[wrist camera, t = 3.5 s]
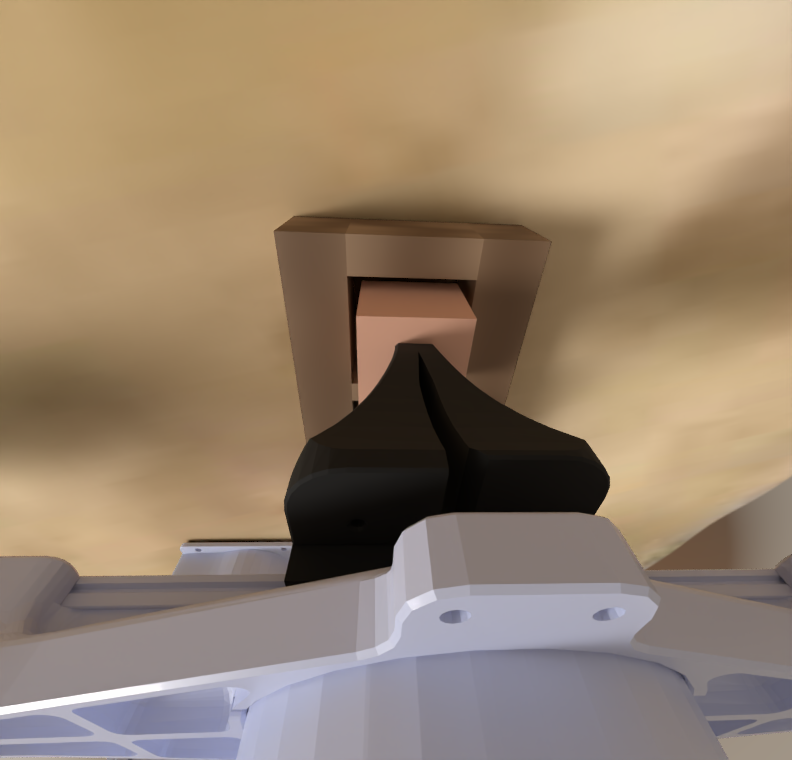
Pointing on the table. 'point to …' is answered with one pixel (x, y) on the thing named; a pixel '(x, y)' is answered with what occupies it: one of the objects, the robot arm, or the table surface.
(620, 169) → the table surface
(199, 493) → the table surface
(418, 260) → the frame
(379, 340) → the key terracotta
